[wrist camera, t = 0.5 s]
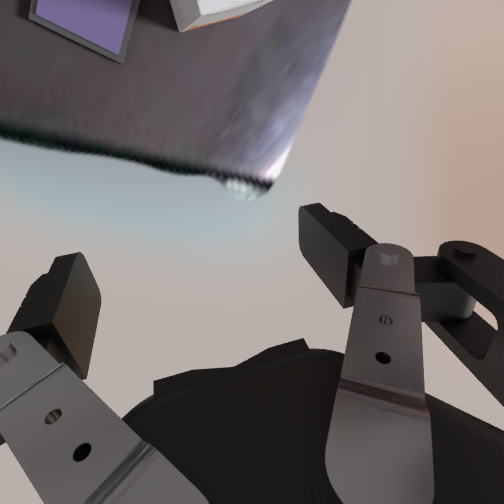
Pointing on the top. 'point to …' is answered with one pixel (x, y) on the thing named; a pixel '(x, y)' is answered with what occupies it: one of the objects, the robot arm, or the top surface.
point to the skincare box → (210, 11)
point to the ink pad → (90, 22)
